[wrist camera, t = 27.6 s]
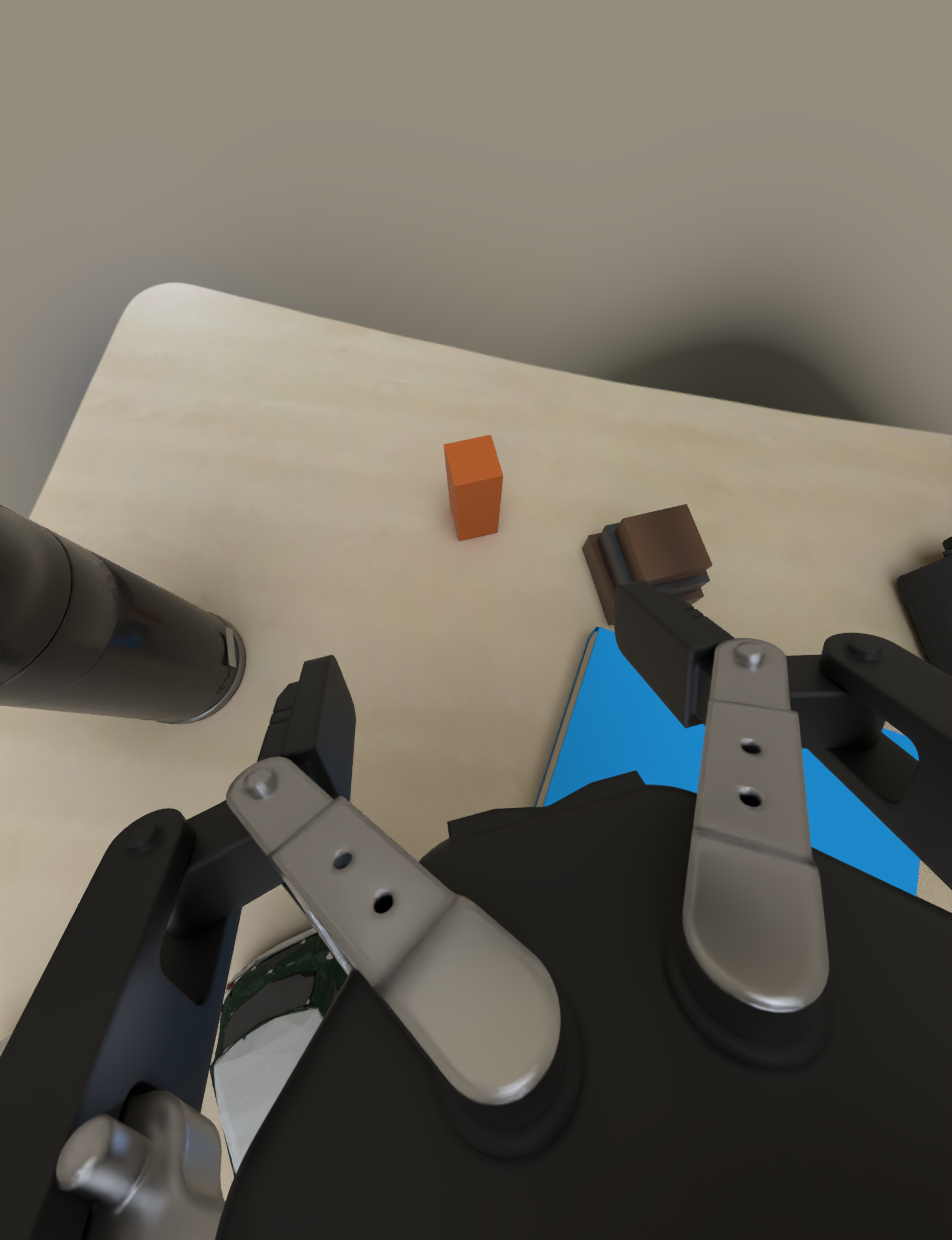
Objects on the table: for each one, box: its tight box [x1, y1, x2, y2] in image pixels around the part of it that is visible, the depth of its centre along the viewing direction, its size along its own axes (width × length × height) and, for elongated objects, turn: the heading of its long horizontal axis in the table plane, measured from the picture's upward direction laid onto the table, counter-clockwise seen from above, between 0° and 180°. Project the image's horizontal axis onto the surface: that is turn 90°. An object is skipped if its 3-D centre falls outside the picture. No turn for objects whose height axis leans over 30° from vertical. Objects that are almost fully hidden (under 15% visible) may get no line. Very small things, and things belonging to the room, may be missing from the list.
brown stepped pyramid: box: [583, 504, 712, 625], centre depth 38 cm, size 8×8×7 cm
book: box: [534, 627, 920, 896], centre depth 34 cm, size 17×4×25 cm
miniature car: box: [210, 928, 348, 1177], centre depth 27 cm, size 9×18×8 cm, turn 26°
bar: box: [444, 435, 503, 541], centre depth 38 cm, size 4×4×9 cm
